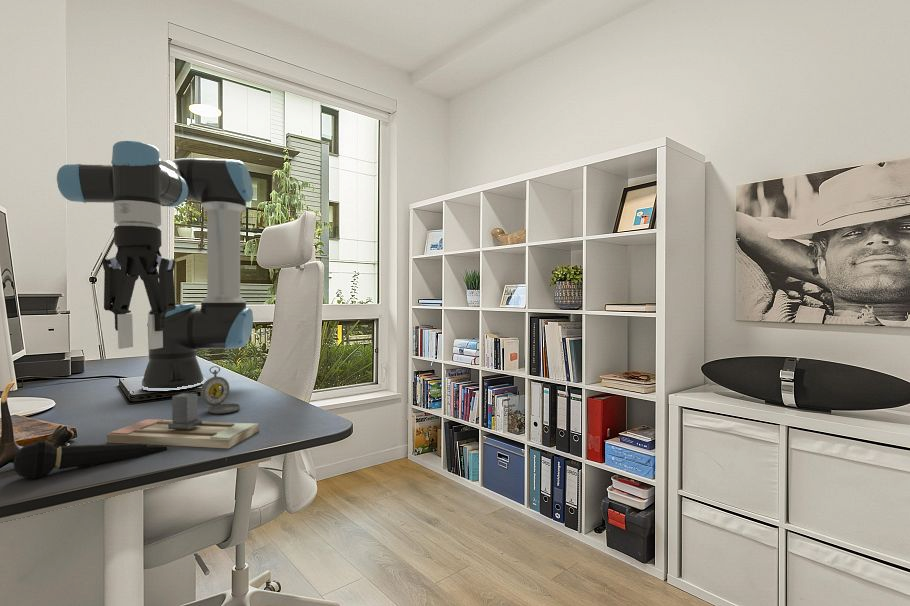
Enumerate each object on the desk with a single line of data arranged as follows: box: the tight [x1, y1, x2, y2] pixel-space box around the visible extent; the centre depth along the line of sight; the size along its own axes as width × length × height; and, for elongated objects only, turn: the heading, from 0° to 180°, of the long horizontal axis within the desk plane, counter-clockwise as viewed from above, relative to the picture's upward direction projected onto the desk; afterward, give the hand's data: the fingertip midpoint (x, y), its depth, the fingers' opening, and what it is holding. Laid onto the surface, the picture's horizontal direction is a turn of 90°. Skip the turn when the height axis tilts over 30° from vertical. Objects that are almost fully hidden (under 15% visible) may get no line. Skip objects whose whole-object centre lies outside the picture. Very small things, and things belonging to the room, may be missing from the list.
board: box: [106, 418, 260, 449], centre depth 92 cm, size 10×24×2 cm, turn 83°
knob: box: [168, 392, 203, 430], centre depth 92 cm, size 4×4×6 cm
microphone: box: [12, 439, 168, 480], centre depth 78 cm, size 6×6×20 cm
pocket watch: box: [200, 365, 241, 415], centre depth 111 cm, size 8×8×10 cm
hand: (140, 347), depth 93 cm, fingers open, 6 cm apart
